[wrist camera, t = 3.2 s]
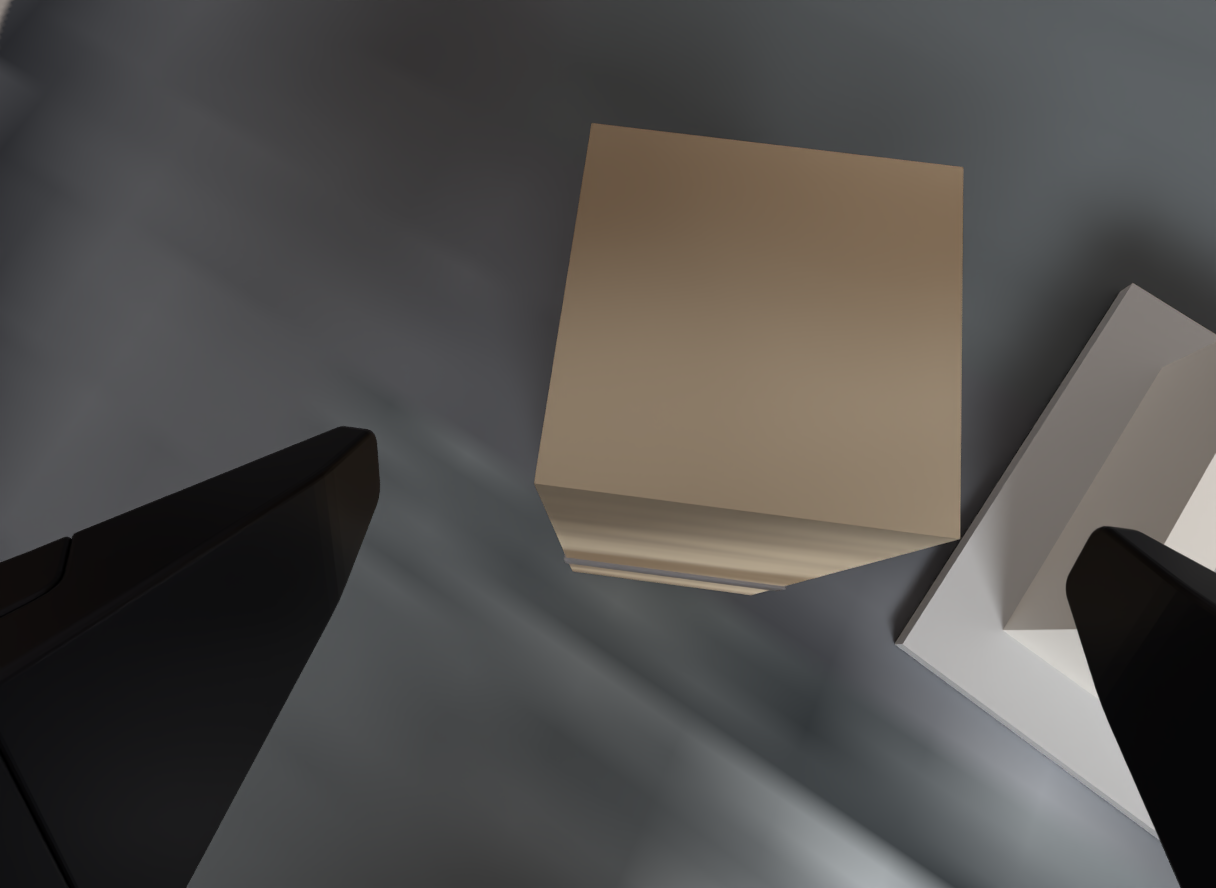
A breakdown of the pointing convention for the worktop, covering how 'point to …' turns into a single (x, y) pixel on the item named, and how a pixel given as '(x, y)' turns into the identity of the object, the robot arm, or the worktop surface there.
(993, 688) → the well
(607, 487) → the wooden post
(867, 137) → the worktop surface
